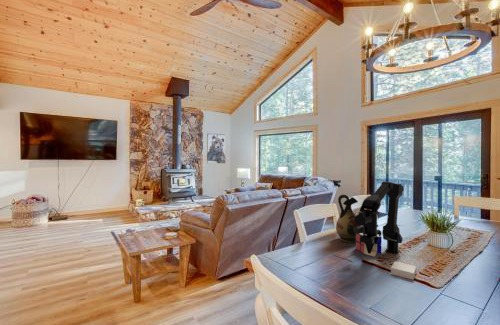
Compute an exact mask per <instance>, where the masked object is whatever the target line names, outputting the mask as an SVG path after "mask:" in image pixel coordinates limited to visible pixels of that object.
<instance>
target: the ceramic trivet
mask: <svg viewBox="0 0 500 325" xmlns="http://www.w3.org/2000/svg"><path fill="white" fill-rule="evenodd" d="M390 274H391V275H394V276H397V277H401V278H406V279H409V280H411V281H412V280H414V279H415V278H416V275H415V274H417V265H416V266H415V265H413V264H408V263H403V262H399V261H394V262H393V264H392V266H391V267H390Z"/></svg>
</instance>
